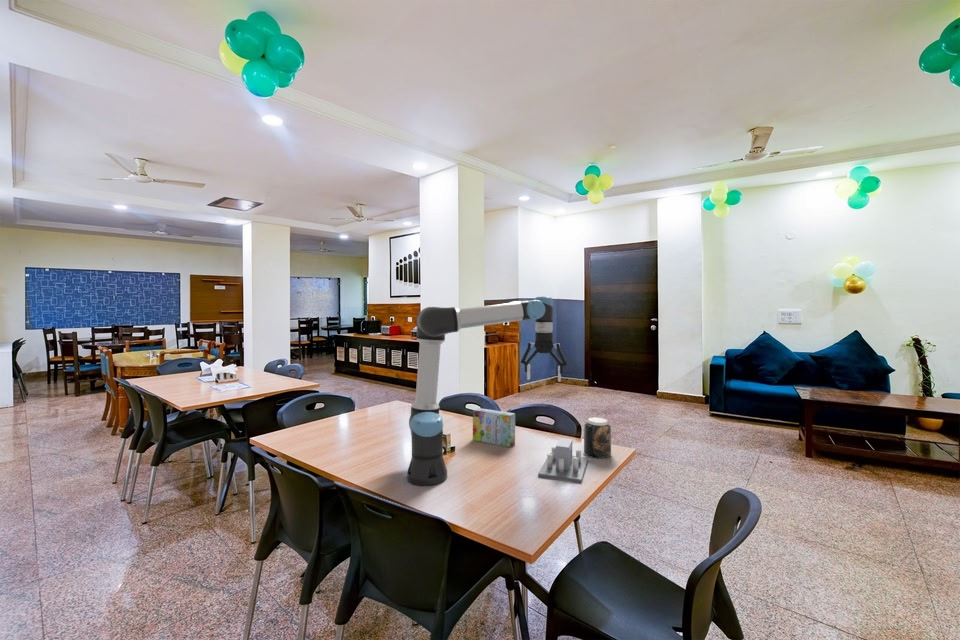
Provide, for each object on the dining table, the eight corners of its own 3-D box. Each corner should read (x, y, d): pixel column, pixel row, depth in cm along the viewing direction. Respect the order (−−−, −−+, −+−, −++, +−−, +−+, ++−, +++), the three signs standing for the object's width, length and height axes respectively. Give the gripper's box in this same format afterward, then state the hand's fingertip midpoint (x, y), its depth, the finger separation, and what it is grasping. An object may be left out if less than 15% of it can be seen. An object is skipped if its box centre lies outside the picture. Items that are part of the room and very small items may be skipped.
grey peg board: (538, 476, 152) (538, 460, 152) (550, 455, 175) (550, 441, 175) (581, 482, 147) (581, 466, 146) (588, 460, 169) (588, 445, 169)
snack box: (515, 444, 189) (515, 413, 189) (510, 448, 184) (510, 415, 184) (478, 437, 200) (478, 407, 200) (471, 440, 196) (471, 409, 195)
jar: (578, 453, 177) (578, 420, 177) (591, 447, 185) (591, 415, 185) (603, 460, 169) (604, 425, 169) (615, 453, 177) (616, 419, 177)
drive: (555, 468, 157) (555, 445, 157) (559, 459, 166) (559, 438, 166) (569, 470, 155) (569, 447, 155) (572, 461, 164) (572, 439, 164)
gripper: (514, 331, 176) (514, 379, 176) (571, 332, 167) (571, 383, 167) (518, 331, 183) (518, 377, 183) (574, 332, 174) (573, 380, 174)
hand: (543, 380), depth 175 cm, fingers open, 13 cm apart
